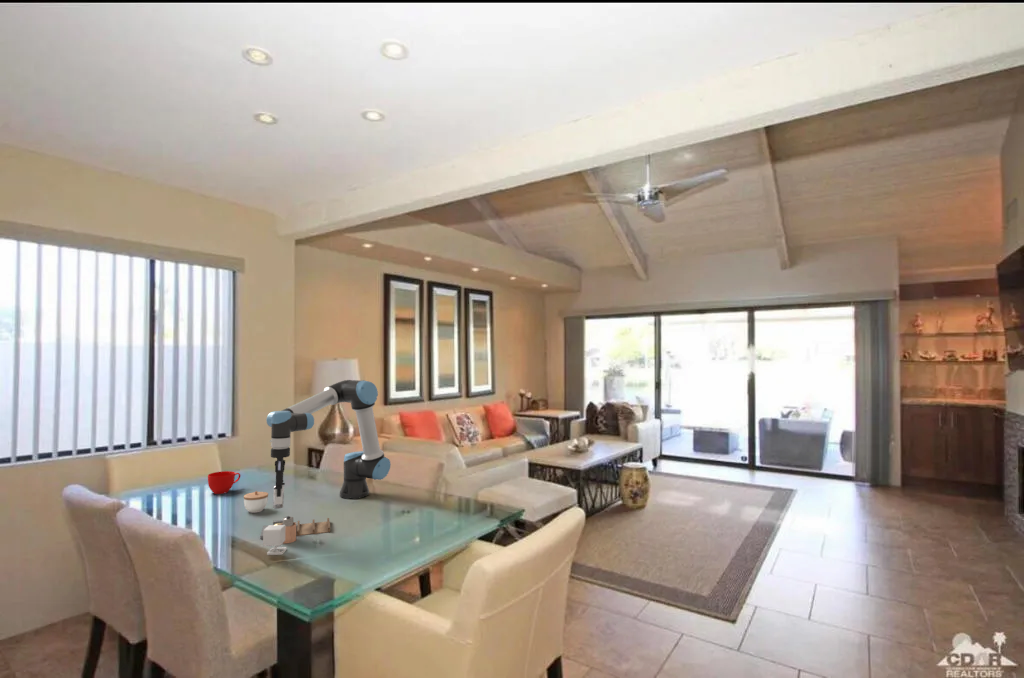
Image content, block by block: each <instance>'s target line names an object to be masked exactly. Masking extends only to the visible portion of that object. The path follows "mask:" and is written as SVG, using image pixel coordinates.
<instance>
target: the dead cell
mask: <svg viewBox="0 0 1024 678" xmlns="http://www.w3.org/2000/svg"><path fill="white" fill-rule="evenodd" d="M282 520H283V525H285V526H286V527H287V526H292V525H293V522H294V517H293V516H289V515H288V516H285V517H283V518H282Z"/></svg>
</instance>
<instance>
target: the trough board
mask: <svg viewBox="0 0 1024 678" xmlns="http://www.w3.org/2000/svg"><path fill="white" fill-rule="evenodd" d="M315 521H316V520H315V519H312V522H308V523H301V522H300V520H298V521H297V522H296V537H298V536H300V537H301V536H306V535H307V536H308V535H317V534H325V533H326V534H327V533H331V523H330V518H329V517H327V518H326V521H318V522H315ZM300 523H301V524H300Z"/></svg>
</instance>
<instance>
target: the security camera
mask: <svg viewBox="0 0 1024 678" xmlns="http://www.w3.org/2000/svg"><path fill="white" fill-rule="evenodd" d="M285 528H286V526H285V525H273V524H269V526H268V527H266V528H265V529H264V531H263V539H262V547H268V546H269V547H270V546H271V548H270V549H269V550H268V551H267V552H266V553H267V556H276V555H277V556H280V555H283V554H284V553H285V552H286V551H287V549H288V548H287V546H284V547H283V546H281V545H283V544H284V543H283V542H284V541H285ZM272 546H273V547H272Z"/></svg>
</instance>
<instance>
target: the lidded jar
mask: <svg viewBox="0 0 1024 678" xmlns="http://www.w3.org/2000/svg"><path fill="white" fill-rule="evenodd" d="M268 501H269V492H265V491H257V490H256V491H254V492H249V493H248V492H247V493H246V494H245V495H243V505H244V508H245V510H247V511H248V513H253V514H254V513H260V512H262V511H264V509H265V508H266V506H267V505H268Z"/></svg>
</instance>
